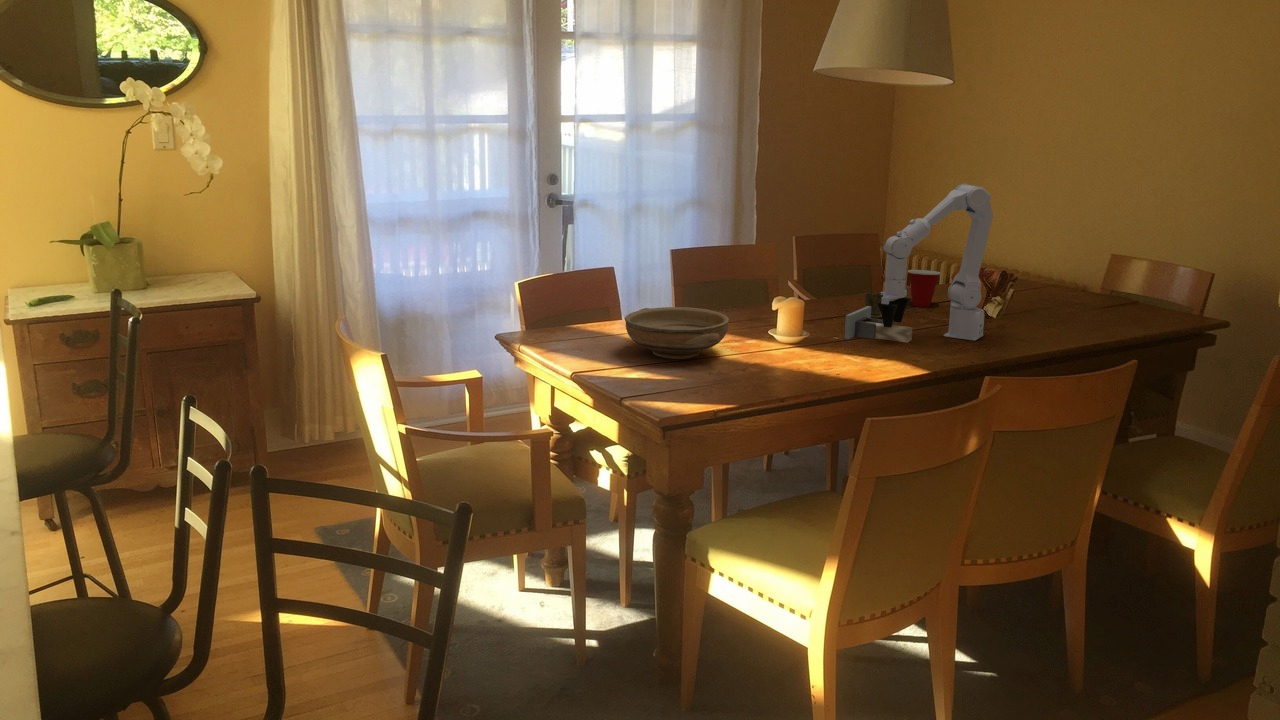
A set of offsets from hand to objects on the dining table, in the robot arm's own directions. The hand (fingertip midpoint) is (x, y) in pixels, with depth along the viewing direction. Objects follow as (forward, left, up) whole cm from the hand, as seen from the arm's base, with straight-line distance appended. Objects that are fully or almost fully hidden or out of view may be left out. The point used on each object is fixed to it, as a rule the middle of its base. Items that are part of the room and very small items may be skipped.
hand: (892, 324), depth 295 cm
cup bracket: (+7, 0, -4) cm, 8 cm away
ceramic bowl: (+43, +50, -5) cm, 66 cm away
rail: (+2, 0, -5) cm, 5 cm away
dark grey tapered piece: (+15, -23, -5) cm, 28 cm away
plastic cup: (+10, -51, -5) cm, 52 cm away
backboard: (+11, 0, -4) cm, 11 cm away
